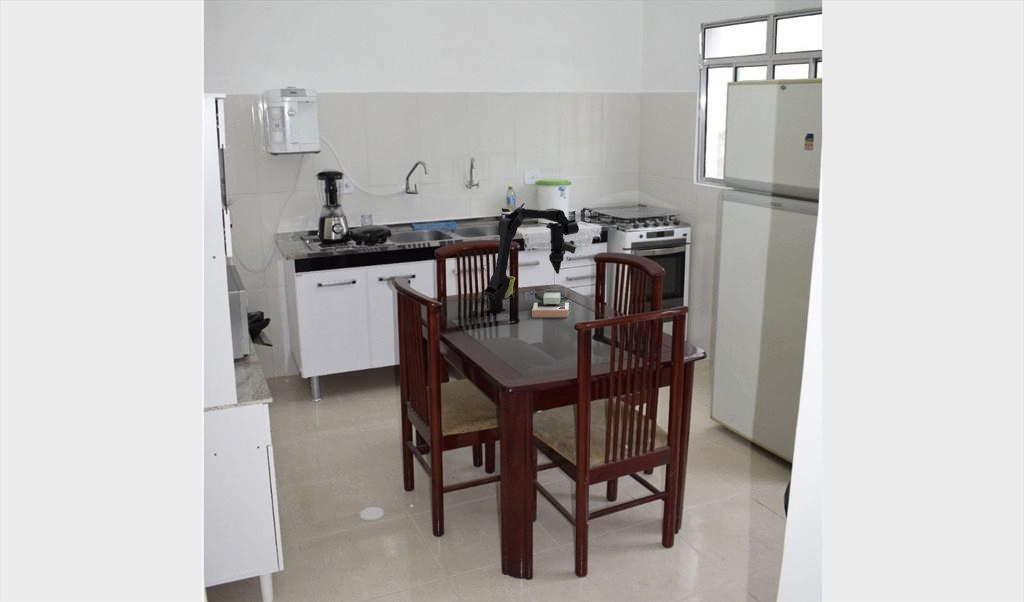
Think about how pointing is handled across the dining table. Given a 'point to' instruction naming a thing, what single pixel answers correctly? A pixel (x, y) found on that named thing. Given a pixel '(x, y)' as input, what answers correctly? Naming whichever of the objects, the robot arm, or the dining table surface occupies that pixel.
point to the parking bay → (549, 311)
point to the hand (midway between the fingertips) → (558, 271)
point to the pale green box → (551, 296)
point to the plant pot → (510, 286)
